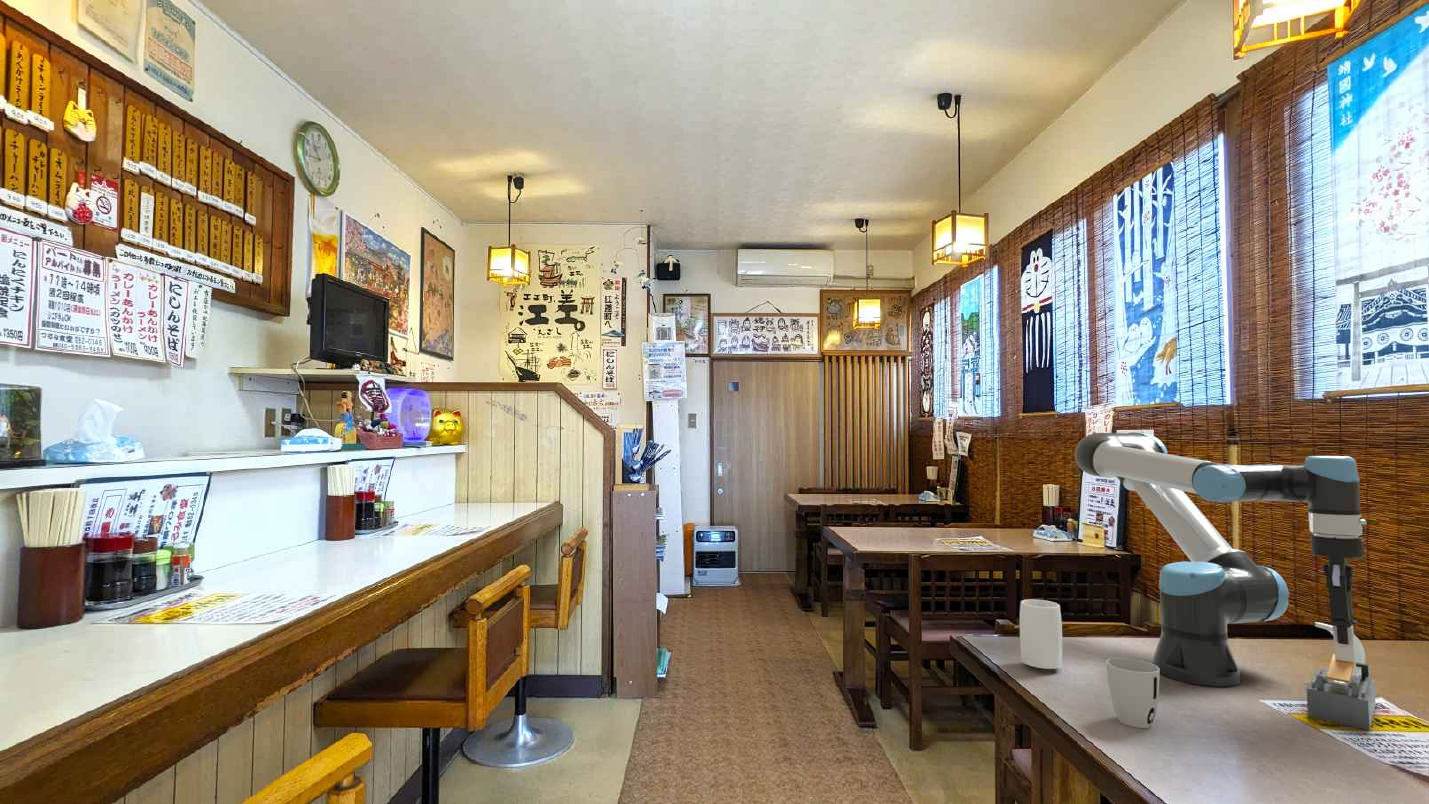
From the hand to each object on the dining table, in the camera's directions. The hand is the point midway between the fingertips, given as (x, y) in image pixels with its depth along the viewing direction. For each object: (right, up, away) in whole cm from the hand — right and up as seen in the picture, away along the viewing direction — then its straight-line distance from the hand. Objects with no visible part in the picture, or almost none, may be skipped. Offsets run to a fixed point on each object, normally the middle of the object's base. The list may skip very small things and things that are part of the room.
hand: (1345, 659), depth 127 cm
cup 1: (-49, -10, +19) cm, 53 cm away
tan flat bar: (-3, -2, -2) cm, 4 cm away
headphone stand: (+9, -9, +10) cm, 17 cm away
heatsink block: (-4, -8, -4) cm, 10 cm away
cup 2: (-46, -8, -9) cm, 48 cm away
